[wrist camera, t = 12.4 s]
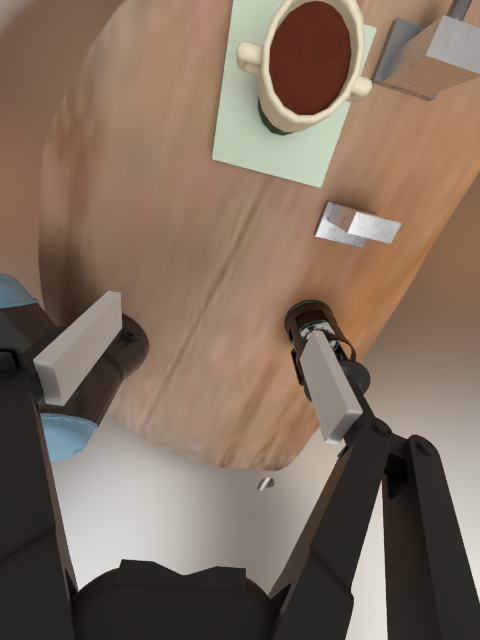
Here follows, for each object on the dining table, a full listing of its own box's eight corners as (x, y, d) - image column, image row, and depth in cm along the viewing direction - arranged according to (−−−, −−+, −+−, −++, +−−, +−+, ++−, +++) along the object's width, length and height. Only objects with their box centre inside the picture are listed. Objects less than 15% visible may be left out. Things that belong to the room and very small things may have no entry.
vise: (313, 234, 39) (331, 250, 32) (399, 5, 26) (463, -61, 19) (359, 245, 40) (387, 263, 32) (463, 29, 27) (549, -25, 20)
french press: (302, 289, 44) (351, 384, 25) (344, 308, 46) (420, 409, 27) (271, 336, 50) (291, 444, 30) (310, 351, 52) (352, 461, 33)
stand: (214, 160, 34) (211, 159, 31) (236, 3, 26) (236, -22, 23) (313, 186, 36) (320, 188, 32) (360, 45, 28) (376, 28, 25)
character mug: (342, 72, 26) (415, 4, 15) (318, 151, 30) (362, 141, 19) (244, 43, 25) (247, -54, 14) (231, 128, 29) (225, 103, 18)
